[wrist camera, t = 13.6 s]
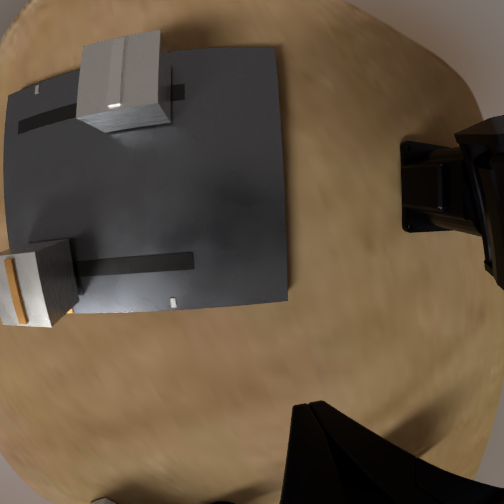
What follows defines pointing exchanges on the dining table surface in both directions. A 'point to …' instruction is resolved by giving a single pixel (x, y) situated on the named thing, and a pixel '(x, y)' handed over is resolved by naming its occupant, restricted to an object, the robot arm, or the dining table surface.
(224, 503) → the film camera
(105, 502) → the ink box
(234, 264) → the plate
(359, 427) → the robot arm
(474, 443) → the dining table surface
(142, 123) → the fader
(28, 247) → the fader
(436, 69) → the dining table surface
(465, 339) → the dining table surface
